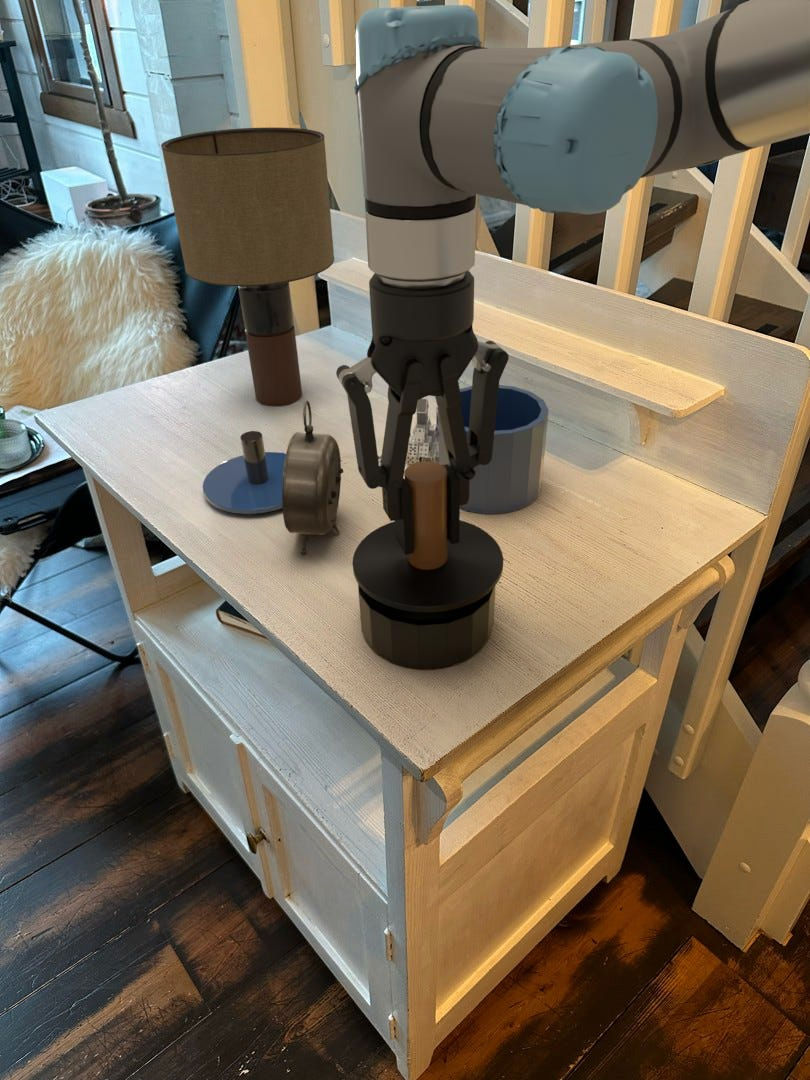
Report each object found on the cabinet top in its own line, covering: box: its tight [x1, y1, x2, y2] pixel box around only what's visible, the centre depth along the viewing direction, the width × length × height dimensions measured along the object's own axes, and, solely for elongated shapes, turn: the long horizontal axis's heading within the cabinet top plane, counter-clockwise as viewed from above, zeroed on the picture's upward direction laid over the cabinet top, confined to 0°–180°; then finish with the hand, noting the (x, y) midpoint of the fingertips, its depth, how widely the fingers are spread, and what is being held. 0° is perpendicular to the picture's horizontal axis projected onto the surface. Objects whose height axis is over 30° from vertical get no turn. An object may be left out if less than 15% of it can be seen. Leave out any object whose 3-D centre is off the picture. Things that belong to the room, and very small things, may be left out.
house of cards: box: [378, 398, 437, 465], centre depth 99 cm, size 9×9×8 cm
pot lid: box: [202, 430, 286, 515], centre depth 92 cm, size 14×14×7 cm
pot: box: [435, 384, 549, 515], centre depth 90 cm, size 13×13×10 cm
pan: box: [357, 583, 497, 671], centre depth 72 cm, size 13×13×6 cm
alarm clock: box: [281, 399, 344, 556], centre depth 81 cm, size 11×5×16 cm, turn 174°
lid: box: [352, 461, 504, 612], centre depth 66 cm, size 14×14×10 cm
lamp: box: [160, 127, 335, 407], centre depth 105 cm, size 20×20×35 cm
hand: (427, 539), depth 67 cm, fingers closed on lid, 4 cm apart
